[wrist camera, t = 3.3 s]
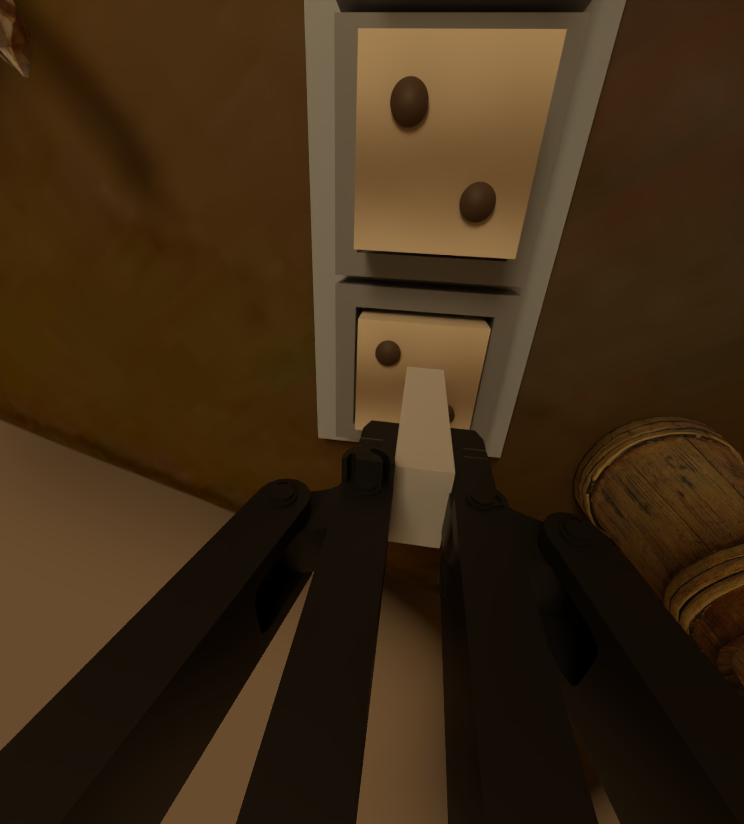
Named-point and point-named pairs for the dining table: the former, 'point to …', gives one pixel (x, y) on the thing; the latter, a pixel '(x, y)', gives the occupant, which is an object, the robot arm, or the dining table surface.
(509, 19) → the button board
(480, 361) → the tile
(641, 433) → the wooden mug
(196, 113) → the dining table surface
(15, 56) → the pine cone
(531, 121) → the tile
